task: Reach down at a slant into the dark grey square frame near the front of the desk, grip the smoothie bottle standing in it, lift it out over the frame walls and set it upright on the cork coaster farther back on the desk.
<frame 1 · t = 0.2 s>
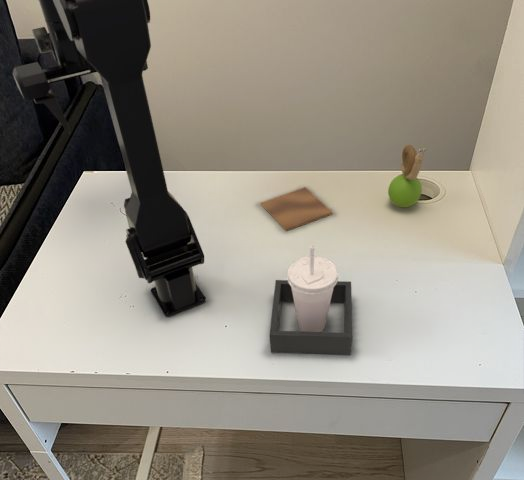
hand: (97, 124, 87), 15 cm above the table, tool pointing down, fingers open, 9 cm apart
smoothie: (311, 325, 76), resting in dark grey square frame
dark grey square frame: (311, 325, 76), on the table
coaster: (296, 209, 94), on the table
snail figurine: (403, 207, 93), on the table
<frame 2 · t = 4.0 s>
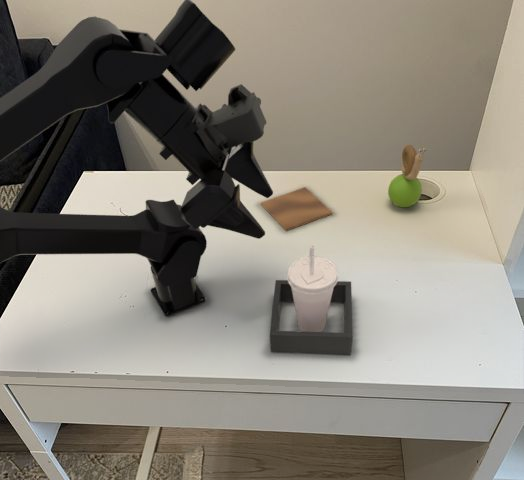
hand: (266, 214, 69), 15 cm above the table, tool tilted 40°, fingers open, 9 cm apart
nothing on the table moved.
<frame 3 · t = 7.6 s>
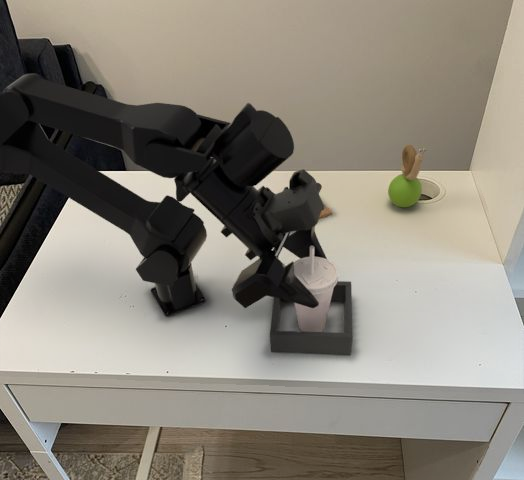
hand: (323, 289, 70), 7 cm above the table, tool tilted 45°, fingers closed on smoothie, 6 cm apart
smoothie: (311, 325, 76), resting in dark grey square frame, touching gripper
everything else where it was.
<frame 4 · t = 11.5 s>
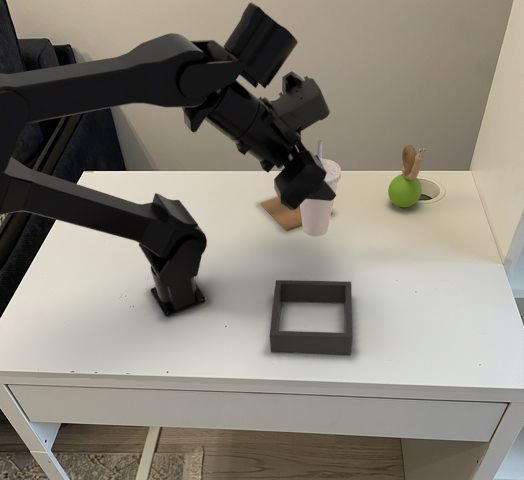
hand: (326, 184, 76), 13 cm above the table, tool tilted 45°, fingers closed on smoothie, 6 cm apart
smoothie: (315, 229, 81), point 6 cm above the table, touching gripper
everything else where it was.
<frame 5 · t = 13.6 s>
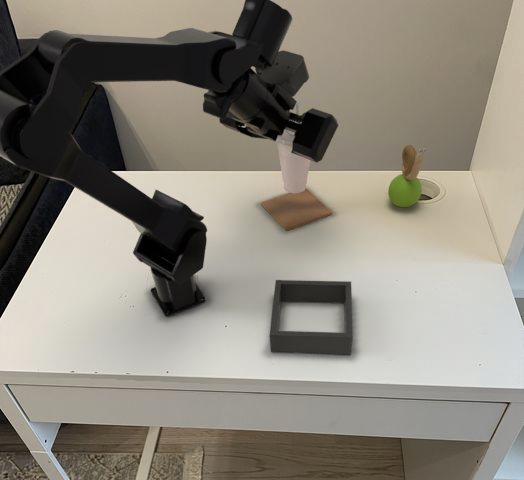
hand: (300, 143, 86), 12 cm above the table, tool tilted 45°, fingers closed on smoothie, 6 cm apart
smoothie: (294, 188, 91), point 4 cm above the table, touching gripper
everything else where it was.
when the fingers open (8 cm above the table, at t = 15.3 s): smoothie stays where it is, resting on coaster.
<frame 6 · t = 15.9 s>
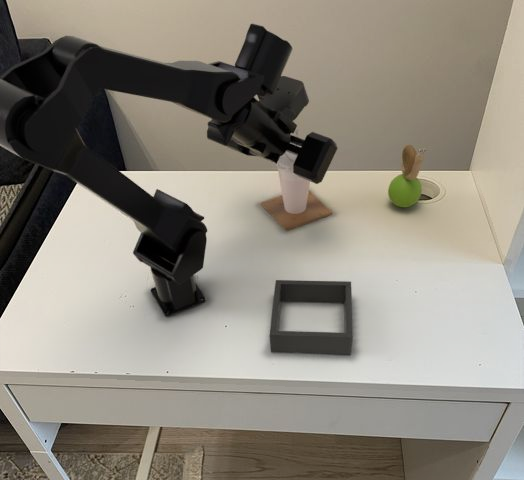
hand: (301, 162, 89), 8 cm above the table, tool tilted 45°, fingers open, 9 cm apart
smoothie: (295, 208, 94), resting on coaster
everything else where it was.
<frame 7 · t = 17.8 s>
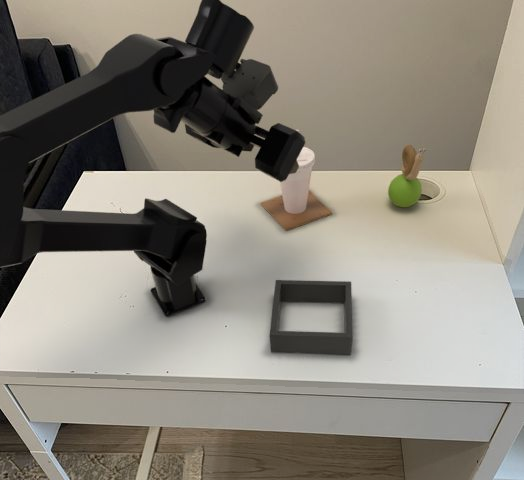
hand: (273, 158, 80), 13 cm above the table, tool tilted 45°, fingers open, 9 cm apart
nothing on the table moved.
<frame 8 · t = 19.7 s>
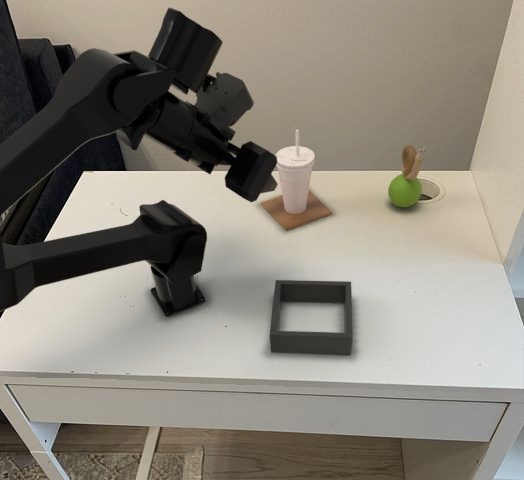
hand: (254, 174, 77), 14 cm above the table, tool tilted 45°, fingers open, 9 cm apart
nothing on the table moved.
at the end: smoothie 0.2 cm off-centre on the coaster, point 0.2 cm above the coaster's base; smoothie tilted 0°; the gripper is holding nothing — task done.
